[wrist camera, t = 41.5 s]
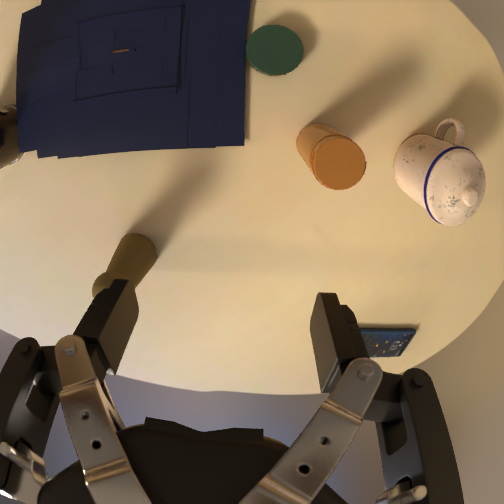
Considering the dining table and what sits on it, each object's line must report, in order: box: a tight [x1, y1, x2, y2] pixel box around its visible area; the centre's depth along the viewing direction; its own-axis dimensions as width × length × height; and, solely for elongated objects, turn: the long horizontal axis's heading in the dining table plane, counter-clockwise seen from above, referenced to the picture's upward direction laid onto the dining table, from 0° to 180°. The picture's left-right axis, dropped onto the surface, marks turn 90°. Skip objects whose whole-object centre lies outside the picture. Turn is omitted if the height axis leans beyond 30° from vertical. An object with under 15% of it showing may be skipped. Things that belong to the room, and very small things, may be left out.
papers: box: [16, 0, 251, 159], centre depth 24 cm, size 24×30×4 cm
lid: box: [245, 25, 303, 76], centre depth 24 cm, size 6×6×2 cm
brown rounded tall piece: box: [92, 234, 157, 298], centre depth 34 cm, size 6×6×11 cm
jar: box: [296, 124, 366, 190], centre depth 27 cm, size 5×5×10 cm
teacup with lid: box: [394, 117, 485, 226], centre depth 26 cm, size 12×9×12 cm
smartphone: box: [360, 329, 416, 357], centre depth 48 cm, size 8×1×15 cm
